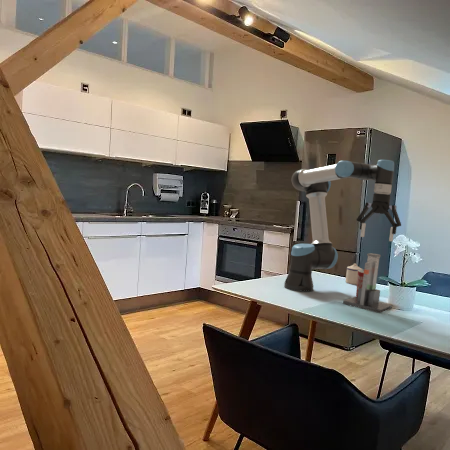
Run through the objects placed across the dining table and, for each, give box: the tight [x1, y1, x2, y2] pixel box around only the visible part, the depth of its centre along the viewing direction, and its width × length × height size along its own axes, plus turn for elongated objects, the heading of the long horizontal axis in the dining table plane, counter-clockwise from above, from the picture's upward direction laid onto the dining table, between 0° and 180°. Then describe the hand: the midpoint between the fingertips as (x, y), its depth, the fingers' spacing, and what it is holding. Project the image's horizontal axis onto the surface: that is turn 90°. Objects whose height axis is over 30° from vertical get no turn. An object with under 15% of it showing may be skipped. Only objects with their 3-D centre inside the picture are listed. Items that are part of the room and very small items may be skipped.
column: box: [366, 252, 382, 291], centre depth 215 cm, size 5×5×23 cm
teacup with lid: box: [345, 263, 363, 286], centre depth 273 cm, size 12×9×12 cm
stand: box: [342, 262, 393, 314], centre depth 215 cm, size 18×15×21 cm
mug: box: [355, 269, 364, 297], centre depth 236 cm, size 13×9×14 cm
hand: (376, 239), depth 214 cm, fingers open, 13 cm apart
